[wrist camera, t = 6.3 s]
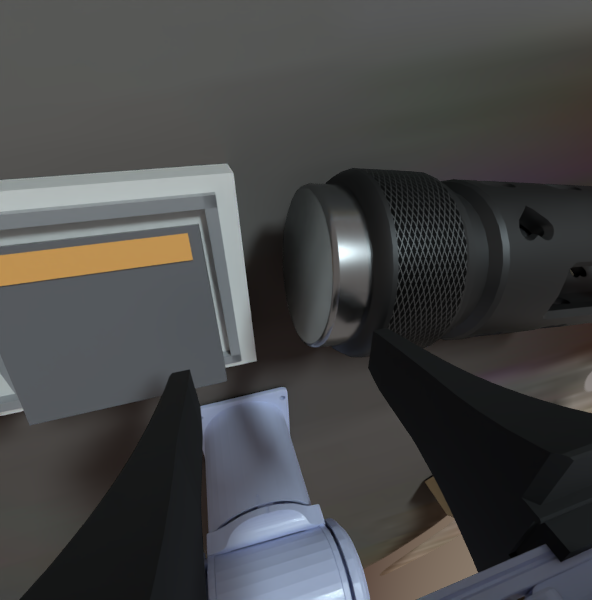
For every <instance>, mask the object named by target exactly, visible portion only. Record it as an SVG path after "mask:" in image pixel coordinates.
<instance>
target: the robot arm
mask: <svg viewBox="0 0 592 600" xmlns="http://www.w3.org/2000/svg"><path fill="white" fill-rule="evenodd" d="M368 368H369V370H370V372H371V375H372V377H373V379H374V381H375V383H376V384H377V386H378V388H379V390H380V392H381V393H382V395H383V396H384V398H385V399H386V401H387V402H388V404H389V405H390V407H391V408H392V409H393V411H394V412H395V414H396V415H397V417H398V418H399V420H400V421H401V423H402V424H403V426H404V427H405V428H406V430H407V431H408V433H409V434H410V436H411V437H412V439H413V441H414V442H415V444H416V445H417V447H418V449H419V451H420V452H421V454H422V456H423V458H424V460H425V462H426V463H427V465H428V467H429V469H430V471H431V473H432V475H433V477H434V478H435V480H436V482H437V484H438V486H439V488H440V490H441V492H442V494H443V496H444V498H445V500H446V502H447V504H448V506H449V508H450V510H451V513H452V515H453V517H454V519H455V521H456V523H457V525H458V527H459V530H460V532H461V534H462V536H463V538H464V541H465V543H466V545H467V547H468V550H469V552H470V554H471V557H472V559H473V561H474V564H475V566H476V568H477V571H478V573H477V574H474V575H472V576H470V577H467V578H465V579H463V580H461V581H458V582H456V583H454V584H451V585H449V586H447V587H444V588H442V589H440V590H437V591H435V592H433V593H430V594H428V595H426V596H424V597H421V598H419V599H417V600H517V599H519V598H521V597H523V596H525V599H524V600H592V413H588V412H584V411H580V410H576V409H571V408H567V407H563V406H560V405H556V404H553V403H550V402H546V401H543V400H539V399H536V398H533V397H530V396H527V395H524V394H521V393H518V392H515V391H513V390H510V389H507V388H504V387H502V386H499V385H496V384H494V383H491V382H489V381H487V380H484V379H482V378H480V377H477V376H475V375H473V374H470V373H468V372H466V371H464V370H462V369H460V368H458V367H456V366H454V365H452V364H450V363H448V362H446V361H444V360H442V359H440V358H439V357H437V356H435V355H433V354H431V353H430V352H428V351H426V350H424V349H423V348H421V347H419V346H417V345H416V344H414V343H412V342H410V341H409V340H407V339H405V338H404V337H402V336H400V335H398V334H397V333H395V332H393V331H391V330H389V329H388V328H384V329H379V330H374V331H373V335H372V343H371V351H370V359H369V367H368ZM281 396H282V397H281ZM202 450H203V453H204V456H205V464H206V486H207V508H208V530H209V533H207V559H206V558H205V553H204V552H203V536H202V520H201V481H202ZM20 600H370V596H369V591H368V586H367V582H366V578H365V575H364V571H363V568H362V565H361V562H360V559H359V556H358V554H357V551H356V549H355V546H354V544H353V542H352V540H351V538H350V537H349V535H348V534H347V532H346V531H345V530H344V529H343V528H342V527H341V526H340V525H339V524H338V523H337V522H336V521H335V520H334V519H331V518H328V519H324V518H323V515H322V512H321V509H320V506H319V504H316V505H311V502H310V499H309V496H308V493H307V489H306V486H305V483H304V480H303V476H302V473H301V470H300V467H299V463H298V460H297V457H296V453H295V450H294V447H293V444H292V440H291V437H290V426H289V410H288V394H287V390H286V388H285V387H279V388H275V389H271V390H266V391H262V392H258V393H254V394H250V395H245V396H241V397H237V398H233V399H228V400H224V401H220V402H216V403H212V404H207V405H203V406H200V404H199V401H198V397H197V393H196V390H195V386H194V383H193V379H192V376H191V372H190V369H189V370H184V371H179V372H175V373H172V374H171V375H170V376H169V379H168V381H167V384H166V387H165V389H164V392H163V394H162V396H161V399H160V401H159V403H158V405H157V407H156V410H155V412H154V414H153V416H152V418H151V420H150V422H149V424H148V426H147V428H146V430H145V432H144V433H143V435H142V437H141V439H140V441H139V442H138V444H137V446H136V448H135V450H134V451H133V453H132V455H131V456H130V458H129V460H128V461H127V463H126V465H125V466H124V468H123V469H122V471H121V472H120V474H119V476H118V477H117V479H116V480H115V482H114V483H113V485H112V486H111V488H110V489H109V490H108V492H107V493H106V495H105V496H104V497H103V499H102V500H101V502H100V503H99V504H98V506H97V507H96V509H95V510H94V511H93V513H92V514H91V515H90V517H89V518H88V519H87V521H86V522H85V523H84V524H83V526H82V527H81V528H80V529H79V531H78V532H77V533H76V534H75V536H74V537H73V538H72V539H71V541H70V542H69V543H68V544H67V545H66V547H65V548H64V549H63V550H62V552H61V553H60V554H59V555H58V557H57V558H56V559H55V560H54V561H53V563H52V564H51V565H50V566H49V567H48V568H47V570H46V571H45V572H44V573H43V574H42V575H41V576H40V577H39V579H38V580H37V581H36V582H35V583H34V584H33V585H32V586H31V587H30V589H29V590H28V591H27V592H26V593H25V594H24V595H23V596H22V597H21V599H20Z"/></svg>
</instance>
